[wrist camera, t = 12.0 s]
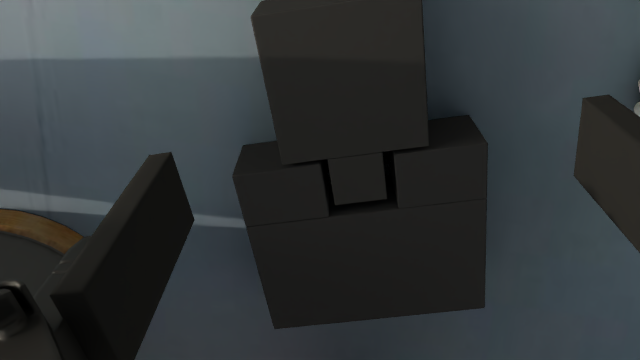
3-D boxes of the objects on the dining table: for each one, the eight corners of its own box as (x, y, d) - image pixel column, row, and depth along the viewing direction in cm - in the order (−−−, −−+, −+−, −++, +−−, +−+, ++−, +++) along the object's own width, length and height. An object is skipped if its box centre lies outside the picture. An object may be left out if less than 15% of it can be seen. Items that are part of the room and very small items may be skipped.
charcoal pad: (469, 114, 30) (488, 142, 26) (469, 268, 35) (485, 308, 32) (242, 144, 31) (231, 176, 27) (279, 288, 37) (274, 329, 33)
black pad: (409, -23, 26) (422, -11, 22) (419, 161, 31) (431, 194, 28) (260, 1, 26) (250, 16, 23) (295, 177, 32) (291, 210, 28)
